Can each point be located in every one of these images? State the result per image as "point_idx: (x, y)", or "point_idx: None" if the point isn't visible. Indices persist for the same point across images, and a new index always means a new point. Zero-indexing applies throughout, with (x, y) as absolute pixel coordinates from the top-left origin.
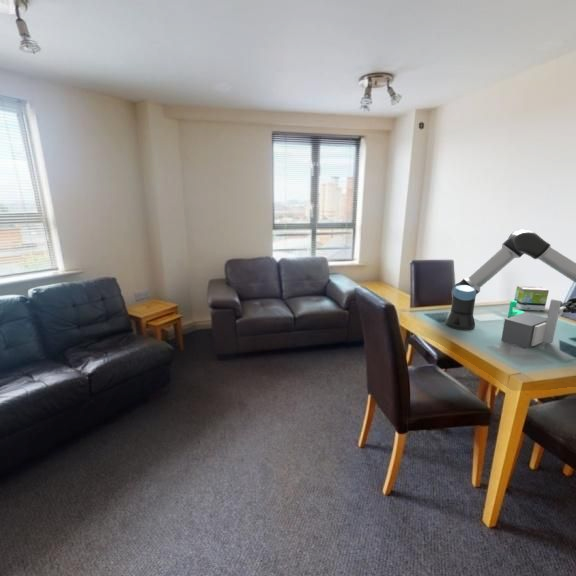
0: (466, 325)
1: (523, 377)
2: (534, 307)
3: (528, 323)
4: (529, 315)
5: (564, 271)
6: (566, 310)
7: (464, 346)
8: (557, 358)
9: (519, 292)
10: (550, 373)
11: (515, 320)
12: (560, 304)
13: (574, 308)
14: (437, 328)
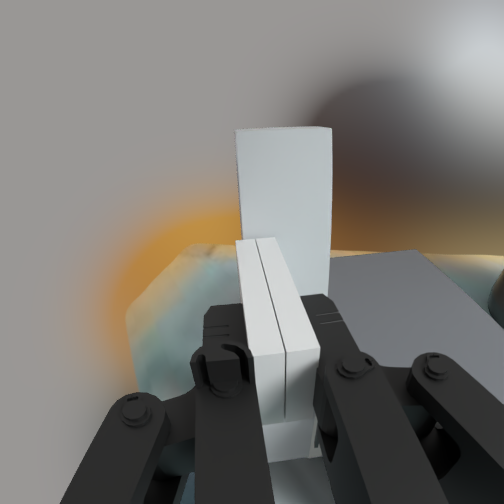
0: (494, 291)
1: (194, 251)
2: None
3: (335, 273)
4: (491, 373)
5: None
6: (207, 322)
7: (364, 254)
8: (181, 374)
9: None
10: (162, 288)
11: (390, 262)
12: (238, 176)
13: (118, 407)
14: (488, 266)
